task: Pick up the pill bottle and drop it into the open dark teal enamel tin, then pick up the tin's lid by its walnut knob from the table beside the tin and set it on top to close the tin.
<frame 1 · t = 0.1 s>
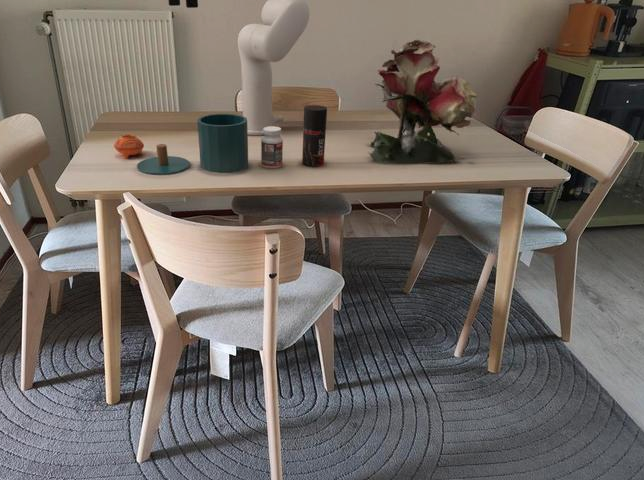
hand: (183, 6, 133), 37 cm above the table, tool pointing down, fingers open, 9 cm apart
rose bouquet: (411, 151, 148), on the table
pot: (130, 157, 139), on the table
lid: (163, 166, 131), point 1 cm above the table
deodorant: (312, 164, 137), on the table
pill bottle: (271, 166, 135), on the table
tin: (224, 166, 133), on the table
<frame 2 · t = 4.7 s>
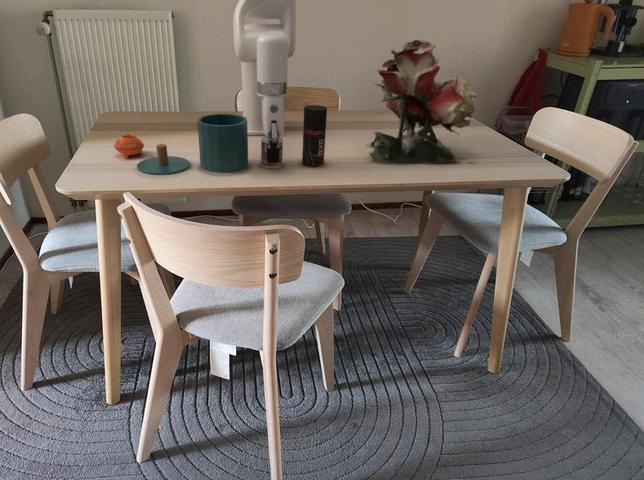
hand: (271, 158, 134), 2 cm above the table, tool pointing down, fingers closed on pill bottle, 5 cm apart
pill bottle: (271, 166, 135), on the table, touching gripper
everything else where it was.
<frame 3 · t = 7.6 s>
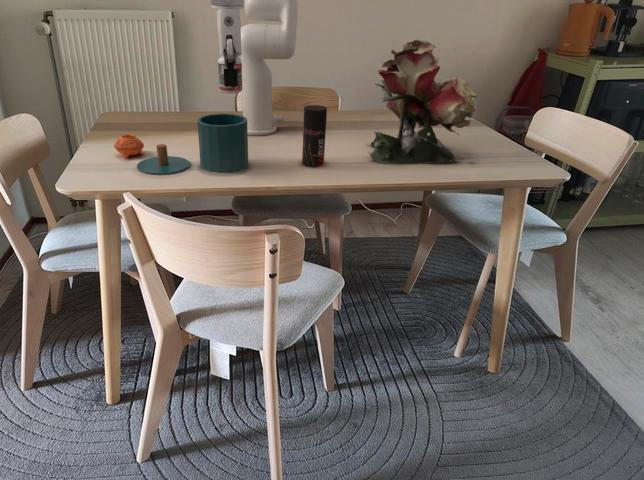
hand: (230, 83, 123), 21 cm above the table, tool pointing down, fingers closed on pill bottle, 5 cm apart
pill bottle: (230, 92, 124), point 19 cm above the table, touching gripper
everything else where it was.
when the fingers open (11 cm above the table, at t = 10.9 s): pill bottle drops 8 cm, resting on tin.
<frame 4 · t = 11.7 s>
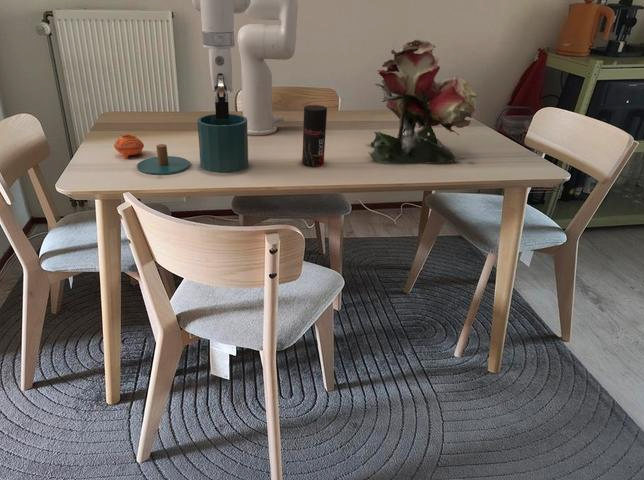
hand: (222, 113, 126), 14 cm above the table, tool pointing down, fingers open, 9 cm apart
pill bottle: (224, 165, 134), resting on tin
everything else where it was.
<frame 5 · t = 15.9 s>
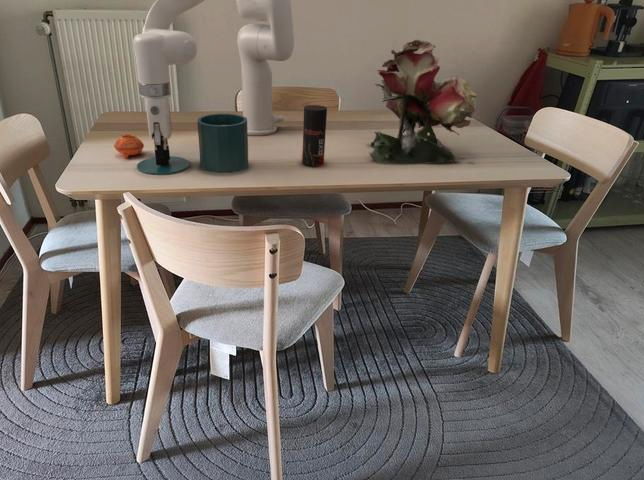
hand: (163, 162, 131), 2 cm above the table, tool pointing down, fingers closed on lid, 2 cm apart
lid: (163, 166, 131), point 1 cm above the table, touching gripper
everything else where it was.
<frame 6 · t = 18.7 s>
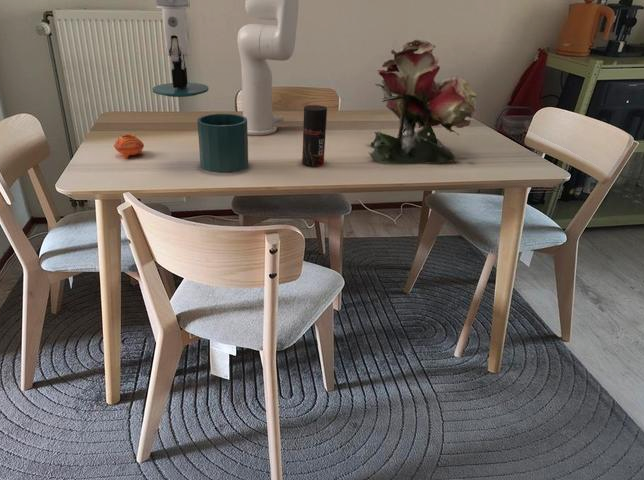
hand: (180, 85, 122), 21 cm above the table, tool pointing down, fingers closed on lid, 2 cm apart
lid: (180, 90, 122), point 20 cm above the table, touching gripper
everything else where it was.
when the fingers open (14 cm above the table, at t = 21.7 s): lid stays where it is, resting on tin.
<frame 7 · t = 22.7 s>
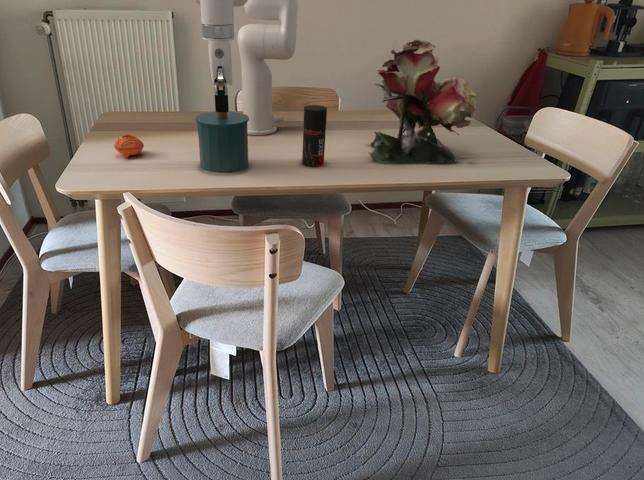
hand: (221, 107, 125), 16 cm above the table, tool pointing down, fingers open, 9 cm apart
lid: (222, 119, 127), point 12 cm above the table, touching tin
everything else where it was.
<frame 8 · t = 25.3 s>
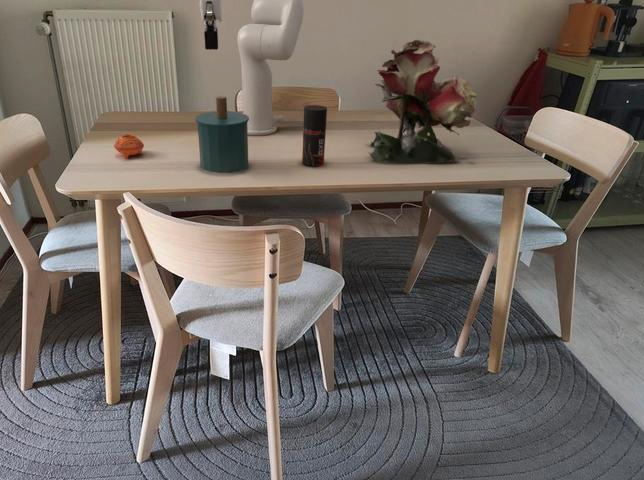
hand: (211, 46, 128), 28 cm above the table, tool pointing down, fingers open, 9 cm apart
nothing on the table moved.
at the end: pill bottle inside the target area in the tin (0.4 cm from its centre), point 0.3 cm above the tin's base; lid 0.0 cm off-centre on the tin, point 12.5 cm above the tin's base; lid tilted 0° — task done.
